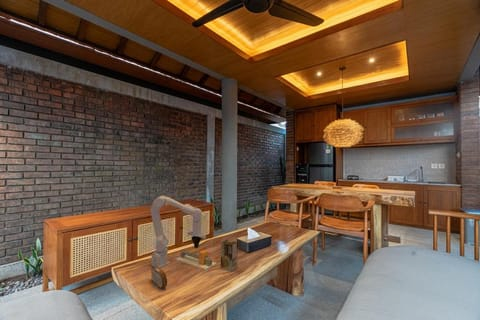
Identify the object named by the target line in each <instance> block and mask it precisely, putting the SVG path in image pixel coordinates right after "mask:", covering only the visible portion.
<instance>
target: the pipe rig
mask: <svg viewBox="0 0 480 320" xmlns="http://www.w3.org/2000/svg"><path fill="white" fill-rule="evenodd" d="M175 261H176V262H180V263H183V264H187V265H188V266H192V267H195V268H197V269H200V270H203V271H208V270H210V269H212V268H213V267H215V266H217V262H214V261H213V259H211V258H210V257H209V256H208V257H204V261H207V262H206V263H205V264H201V263H199V254H197V253H194V252H190V251H187V250H184V249H183V250H182V251H181V252H180V256H179V257H177V258H175Z"/></svg>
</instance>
